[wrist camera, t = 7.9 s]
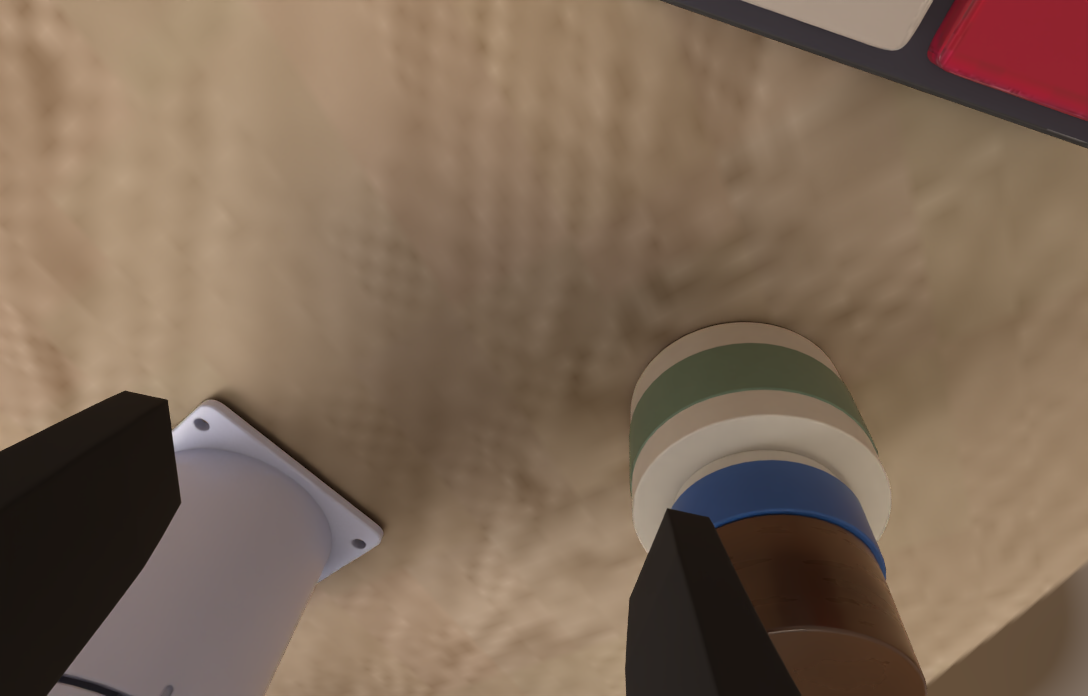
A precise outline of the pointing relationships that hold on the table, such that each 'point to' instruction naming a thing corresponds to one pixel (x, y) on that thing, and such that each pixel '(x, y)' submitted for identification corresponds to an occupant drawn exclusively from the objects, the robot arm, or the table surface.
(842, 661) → the brown cylinder
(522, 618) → the table surface
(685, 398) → the bottle
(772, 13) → the calculator
